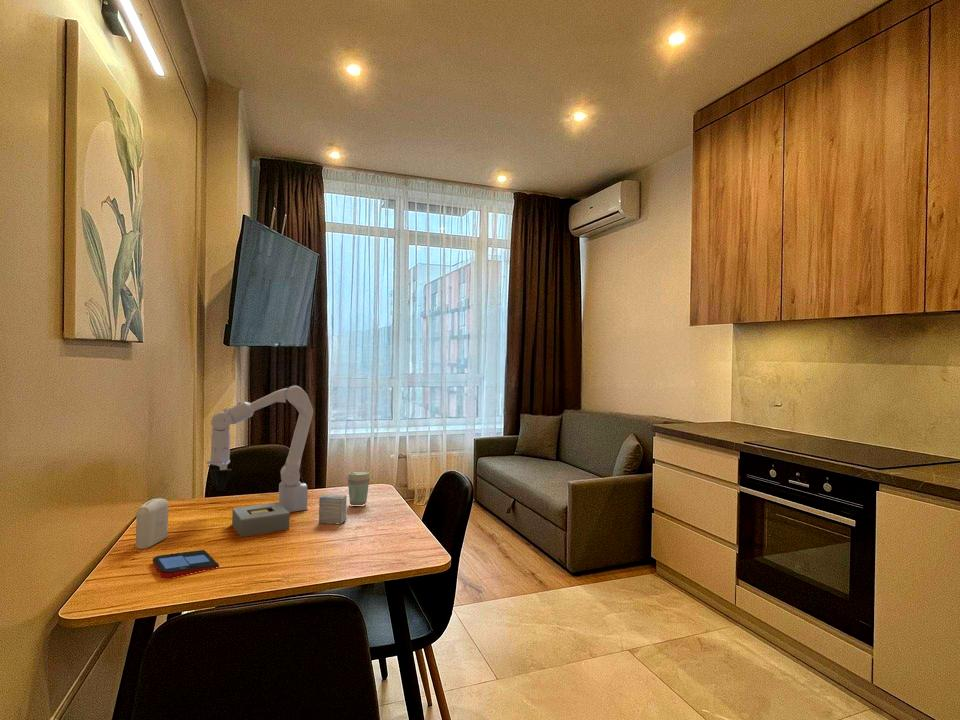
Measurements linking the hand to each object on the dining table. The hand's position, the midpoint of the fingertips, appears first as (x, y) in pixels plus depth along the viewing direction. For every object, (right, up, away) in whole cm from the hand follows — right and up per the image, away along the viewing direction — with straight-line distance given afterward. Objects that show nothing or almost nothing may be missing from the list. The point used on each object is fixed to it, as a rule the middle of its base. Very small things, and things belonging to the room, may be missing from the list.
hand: (219, 487), depth 173 cm
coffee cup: (+43, -11, +17) cm, 48 cm away
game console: (+13, -10, -42) cm, 45 cm away
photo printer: (-5, -9, -27) cm, 29 cm away
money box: (+19, -10, -11) cm, 24 cm away
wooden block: (+18, -10, -11) cm, 24 cm away
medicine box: (+40, -11, -4) cm, 42 cm away
